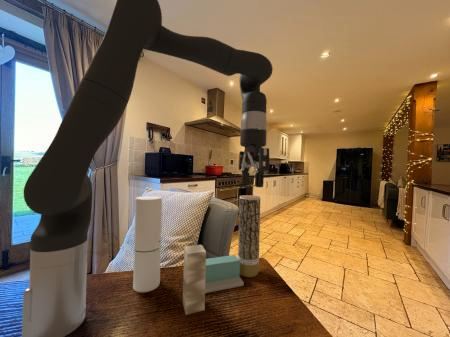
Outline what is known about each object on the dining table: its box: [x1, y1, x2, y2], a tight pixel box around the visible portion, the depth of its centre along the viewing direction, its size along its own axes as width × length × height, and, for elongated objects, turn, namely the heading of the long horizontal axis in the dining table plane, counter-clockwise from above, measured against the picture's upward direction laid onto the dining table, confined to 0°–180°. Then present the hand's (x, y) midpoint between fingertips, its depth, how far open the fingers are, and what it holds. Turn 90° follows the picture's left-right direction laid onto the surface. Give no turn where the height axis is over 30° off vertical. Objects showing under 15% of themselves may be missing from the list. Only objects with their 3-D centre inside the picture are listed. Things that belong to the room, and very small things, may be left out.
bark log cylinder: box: [237, 194, 261, 278], centre depth 65 cm, size 7×7×25 cm
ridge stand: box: [205, 254, 245, 294], centre depth 59 cm, size 15×10×6 cm, turn 110°
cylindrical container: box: [132, 195, 163, 293], centre depth 57 cm, size 7×7×25 cm
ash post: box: [182, 244, 207, 316], centre depth 48 cm, size 4×4×14 cm
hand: (251, 185), depth 57 cm, fingers open, 8 cm apart
